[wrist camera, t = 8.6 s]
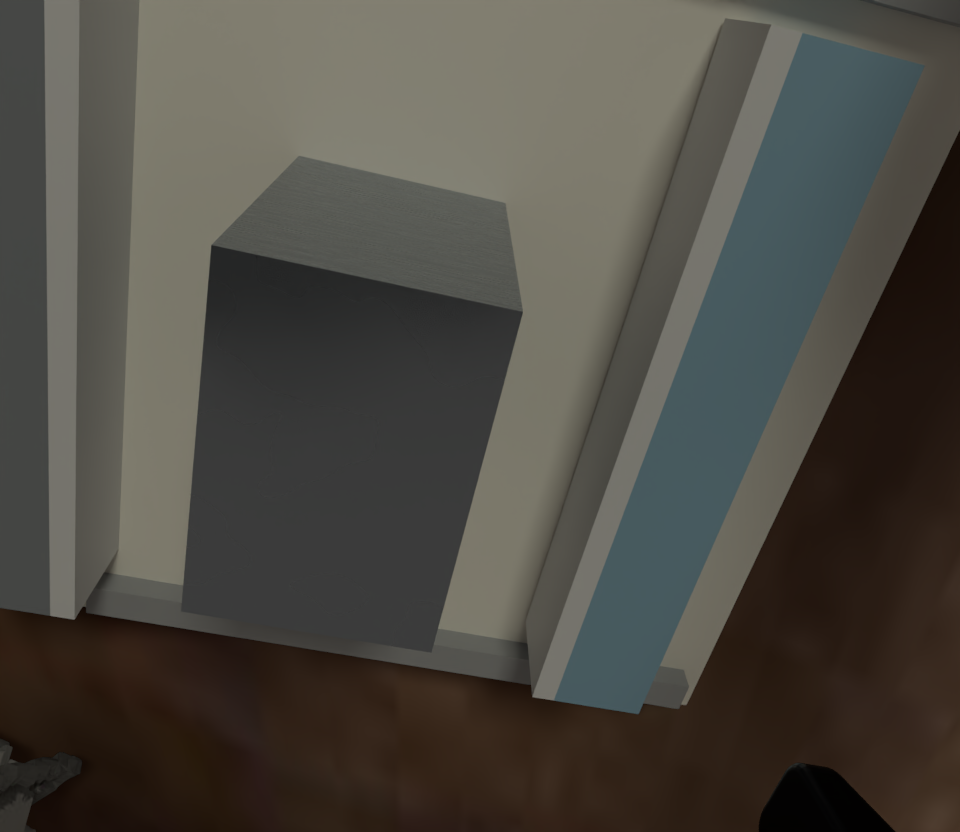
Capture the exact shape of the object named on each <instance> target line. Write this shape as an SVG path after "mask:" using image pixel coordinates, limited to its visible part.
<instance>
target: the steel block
mask: <svg viewBox="0 0 960 832" xmlns="http://www.w3.org/2000/svg"><path fill="white" fill-rule="evenodd" d="M522 314H523V308H522V302H521V296H520V290H519V283H518V277H517V271H516V265H515V259H514V253H513V247H512V241H511V234H510V228H509V222H508V216H507V210H506V204H505V203H503V202H499V201H495V200H490V199H486V198H482V197H477V196H473V195H468V194H464V193H460V192H455V191H451V190H447V189H442V188H438V187H434V186H429V185H425V184H421V183H416V182H412V181H407V180H403V179H399V178H394V177H390V176H386V175H381V174H377V173H373V172H368V171H364V170H360V169H355V168H351V167H346V166H342V165H338V164H333V163H329V162H325V161H320V160H316V159H312V158H307V157H303V156H298V157H297V158H296V159H295V160H294V161H293V162H292V163H291V164H290V165H289V166H288V167H287V168H286V169H285V170H284V171H283V172H282V173H281V175H280V176H279V177H278V178H277V179H276V180H275V181H274V182H273V183H272V184H271V185H270V186H269V187H268V188H267V189H266V190H265V191H264V192H263V193H262V194H261V195H260V196H259V197H258V198H257V199H256V200H255V201H254V202H253V203H252V204H251V205H250V206H249V207H248V208H247V209H246V210H245V211H244V212H243V213H242V214H241V215H240V216H239V217H238V218H237V219H236V220H235V221H234V222H233V223H232V224H231V225H230V226H229V227H228V228H227V229H226V231H225V232H224V233H223V234H222V235H221V236H220V237H219V238H218V239H217V240H216V241H215V242H214V243H213V244H212V245H211V255H210V267H209V279H208V291H207V303H206V315H205V327H204V340H203V352H202V364H201V376H200V388H199V400H198V412H197V424H196V436H195V449H194V461H193V473H192V485H191V497H190V509H189V521H188V533H187V545H186V557H185V570H184V582H183V594H182V606H181V612H186V613H192V614H198V615H205V616H211V617H217V618H223V619H229V620H235V621H241V622H247V623H253V624H259V625H265V626H271V627H278V628H284V629H290V630H296V631H302V632H308V633H314V634H320V635H326V636H332V637H338V638H344V639H351V640H357V641H363V642H369V643H375V644H381V645H387V646H393V647H399V648H405V649H411V650H417V651H424V652H430V653H432V649H433V645H434V642H435V638H436V634H437V631H438V627H439V623H440V619H441V616H442V612H443V608H444V605H445V601H446V597H447V593H448V590H449V586H450V582H451V578H452V575H453V571H454V567H455V564H456V560H457V556H458V552H459V549H460V545H461V541H462V538H463V534H464V530H465V526H466V523H467V519H468V515H469V512H470V508H471V504H472V500H473V497H474V493H475V489H476V485H477V482H478V478H479V474H480V471H481V467H482V463H483V459H484V456H485V452H486V448H487V445H488V441H489V437H490V433H491V430H492V426H493V422H494V419H495V415H496V411H497V407H498V404H499V400H500V396H501V392H502V389H503V385H504V381H505V378H506V374H507V370H508V366H509V363H510V359H511V355H512V352H513V348H514V344H515V340H516V337H517V333H518V329H519V326H520V322H521V318H522Z"/></svg>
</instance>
